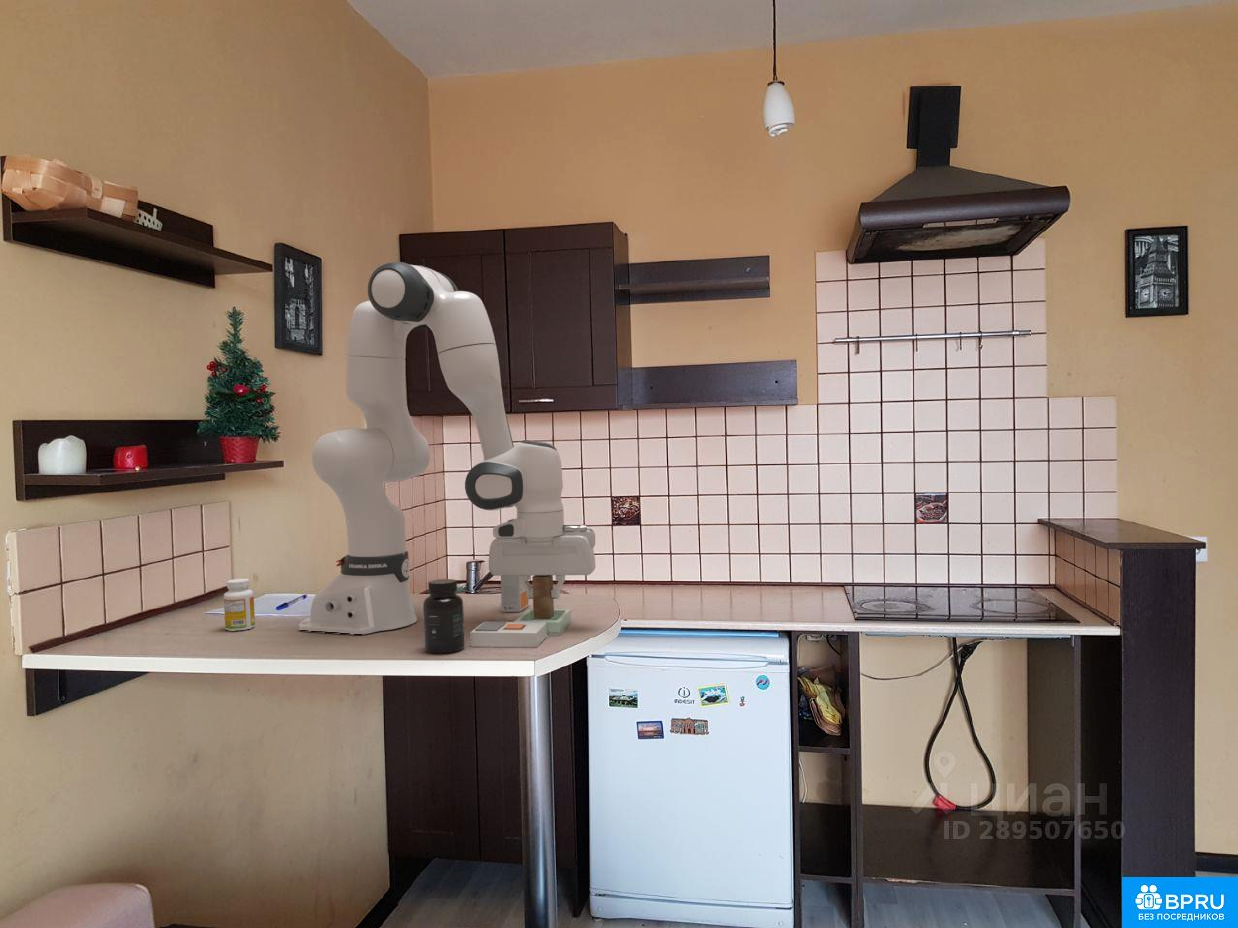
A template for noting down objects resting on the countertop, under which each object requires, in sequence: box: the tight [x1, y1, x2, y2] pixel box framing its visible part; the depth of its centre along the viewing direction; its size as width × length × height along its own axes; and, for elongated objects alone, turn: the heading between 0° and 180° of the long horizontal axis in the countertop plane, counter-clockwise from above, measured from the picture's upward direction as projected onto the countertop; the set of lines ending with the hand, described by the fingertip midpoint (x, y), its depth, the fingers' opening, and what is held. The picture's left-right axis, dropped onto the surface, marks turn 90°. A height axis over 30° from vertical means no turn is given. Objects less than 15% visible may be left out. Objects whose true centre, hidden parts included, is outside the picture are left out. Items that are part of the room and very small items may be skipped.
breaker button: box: [504, 624, 525, 630], centre depth 148 cm, size 3×3×2 cm
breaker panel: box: [469, 621, 548, 648], centre depth 148 cm, size 12×8×3 cm, turn 82°
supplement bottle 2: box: [422, 578, 465, 655], centre depth 143 cm, size 7×7×12 cm
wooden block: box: [531, 575, 555, 619], centre depth 156 cm, size 3×3×8 cm
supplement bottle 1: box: [223, 578, 256, 631], centre depth 163 cm, size 5×5×10 cm
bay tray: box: [513, 608, 572, 637], centre depth 157 cm, size 9×11×2 cm
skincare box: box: [500, 576, 529, 613], centre depth 174 cm, size 6×4×12 cm
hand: (543, 598), depth 157 cm, fingers closed on wooden block, 3 cm apart
